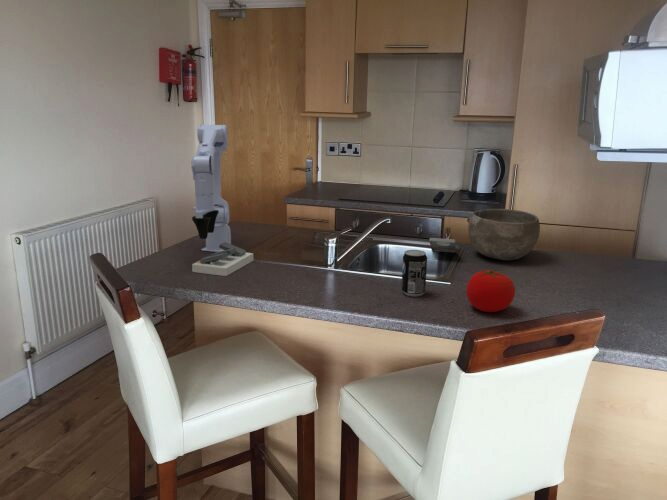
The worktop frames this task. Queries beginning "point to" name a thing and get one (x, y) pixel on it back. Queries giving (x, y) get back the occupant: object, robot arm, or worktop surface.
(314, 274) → the worktop surface
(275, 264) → the worktop surface
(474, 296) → the tomato
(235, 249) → the rocker
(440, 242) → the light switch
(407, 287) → the beverage can
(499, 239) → the bowl
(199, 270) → the switch panel
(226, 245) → the rocker
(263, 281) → the worktop surface
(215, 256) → the rocker
